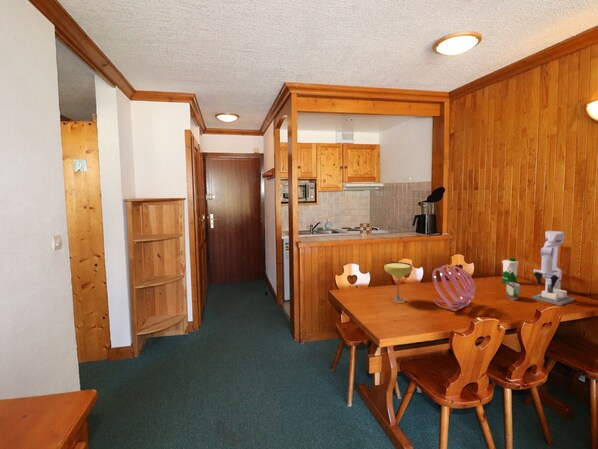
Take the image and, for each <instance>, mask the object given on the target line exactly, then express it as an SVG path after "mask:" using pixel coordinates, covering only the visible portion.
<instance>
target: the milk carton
mask: <svg viewBox="0 0 598 449" xmlns="http://www.w3.org/2000/svg"><path fill="white" fill-rule="evenodd" d="M501 261H502V262H501V263H502V278H501V279H502V281H501V283H503V284H506V282H513V283H517V284H518V278H517V276H518V265H519V261H518V260H516V257H509V259H504V260H501Z"/></svg>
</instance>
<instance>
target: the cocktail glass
mask: <svg viewBox="0 0 598 449" xmlns="http://www.w3.org/2000/svg"><path fill="white" fill-rule="evenodd" d="M383 267H384V268H383V269H384V271H385V272H386V273H387V274H388V275H391V276H393V277H394V278H395V279H396V280H397V292H396V293H397V295H396V297H393V298H394V300H395V301H404V300H403V299H404V298H402V299H401V297H400V296H399V283H400V282H399V280H400V279H401V278H402V277H404V276H407V275H409V274H410V273H412V272H413V264H411V263H408V262H403V261H402V262H401V261H397V262H396V261H391V262H385V263H384V266H383Z"/></svg>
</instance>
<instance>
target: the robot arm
mask: <svg viewBox="0 0 598 449" xmlns="http://www.w3.org/2000/svg"><path fill="white" fill-rule="evenodd" d="M544 235H545V236H544V237H545V242H544V245H543V247H541V249H540V258H541V265H540V266H541V267H540V269H535V268H534V269H533V273H534V274H533V275H534V277H535V278H536V282H537V285H541V284H542V279H544V280H545V286H544V287H545V289H544V290H545V291H547V288H548V284H551V287H553V288H555V289H559V290H561V285H562V282H561V281H562V277H563V273H562V272H563V271H562V269H561V268H559V267H558V261H559V249H560V248H559V247H560V245H561V244H563V243H564V240H565V232H564V231H556V230H546V231H545V234H544Z"/></svg>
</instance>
